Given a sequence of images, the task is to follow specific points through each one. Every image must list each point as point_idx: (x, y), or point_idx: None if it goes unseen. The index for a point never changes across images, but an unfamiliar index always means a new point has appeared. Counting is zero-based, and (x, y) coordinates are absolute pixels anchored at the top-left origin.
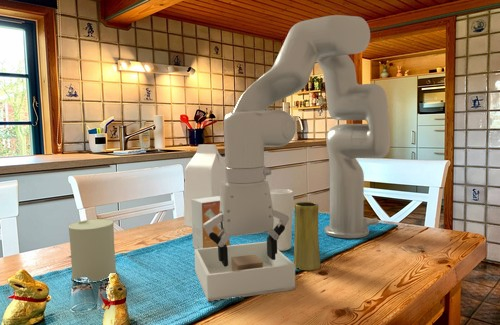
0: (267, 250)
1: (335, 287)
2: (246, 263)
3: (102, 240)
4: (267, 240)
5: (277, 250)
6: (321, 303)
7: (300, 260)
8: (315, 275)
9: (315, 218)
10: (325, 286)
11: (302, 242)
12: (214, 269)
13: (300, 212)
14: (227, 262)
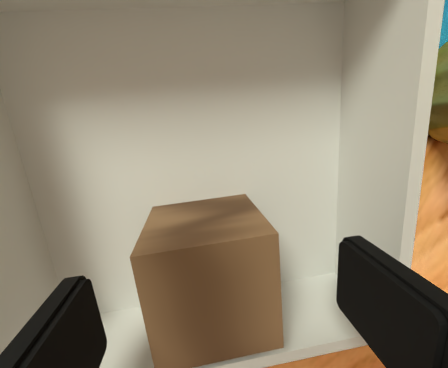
0: (358, 261)
1: (435, 274)
2: (204, 354)
3: None
4: (417, 320)
5: (421, 140)
6: (359, 349)
7: None
8: (436, 185)
9: None
10: (417, 265)
11: None
12: (74, 46)
13: None
14: (97, 365)
